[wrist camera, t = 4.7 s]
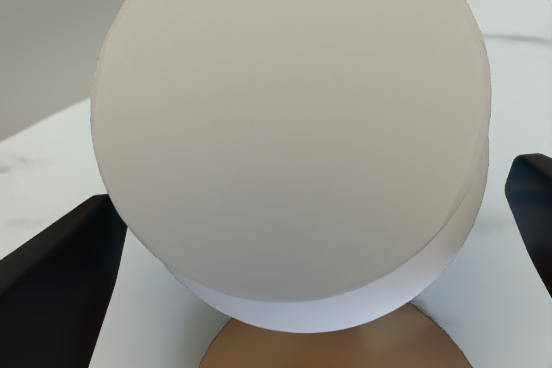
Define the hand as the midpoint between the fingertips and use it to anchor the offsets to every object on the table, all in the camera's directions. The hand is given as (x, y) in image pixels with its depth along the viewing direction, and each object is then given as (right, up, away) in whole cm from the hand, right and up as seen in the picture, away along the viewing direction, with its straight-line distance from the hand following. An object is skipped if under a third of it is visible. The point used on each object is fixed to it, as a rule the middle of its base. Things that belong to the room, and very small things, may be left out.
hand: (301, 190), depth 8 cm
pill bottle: (+1, 0, +9) cm, 9 cm away
